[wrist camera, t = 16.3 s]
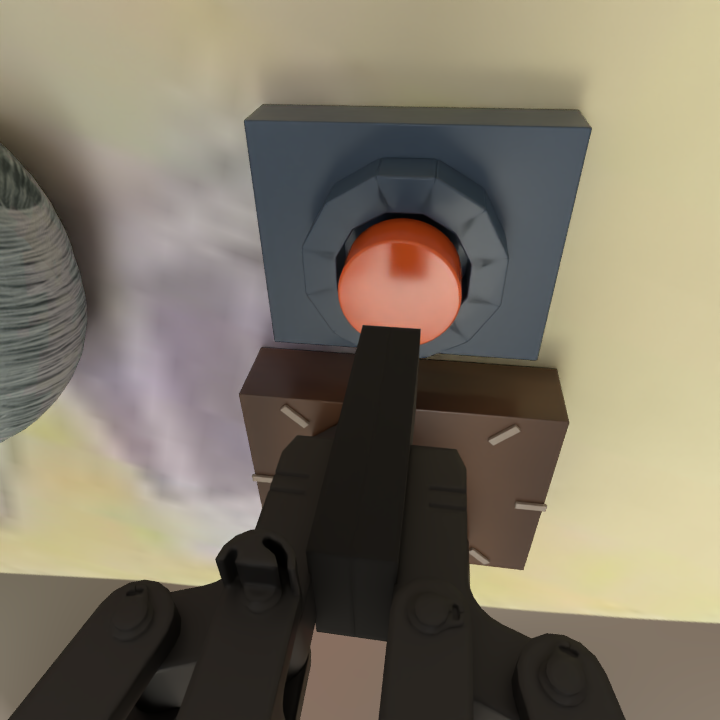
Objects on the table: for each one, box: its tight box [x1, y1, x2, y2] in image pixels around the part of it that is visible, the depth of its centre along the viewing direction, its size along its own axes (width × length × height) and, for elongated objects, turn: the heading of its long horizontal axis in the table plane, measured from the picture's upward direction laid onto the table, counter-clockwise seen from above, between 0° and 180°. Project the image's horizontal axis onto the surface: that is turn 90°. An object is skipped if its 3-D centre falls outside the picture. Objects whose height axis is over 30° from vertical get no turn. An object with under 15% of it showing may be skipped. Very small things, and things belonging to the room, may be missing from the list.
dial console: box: [239, 347, 569, 570], centre depth 27 cm, size 14×14×4 cm
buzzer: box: [244, 104, 592, 360], centre depth 20 cm, size 11×9×4 cm
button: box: [338, 218, 462, 345], centre depth 18 cm, size 4×4×2 cm
